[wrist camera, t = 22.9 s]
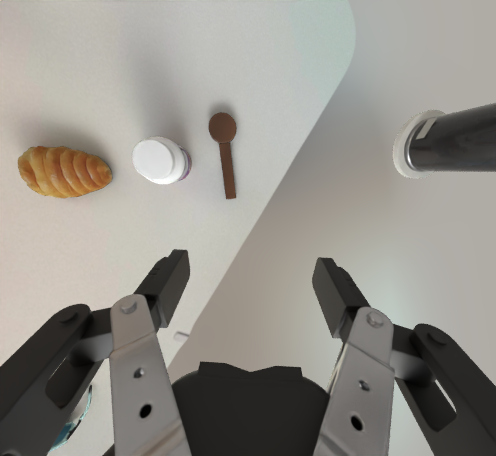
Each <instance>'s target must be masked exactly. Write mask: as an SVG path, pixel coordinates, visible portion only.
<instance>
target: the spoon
mask: <svg viewBox="0 0 496 456" xmlns="http://www.w3.org/2000/svg"><path fill="white" fill-rule="evenodd" d="M209 132H210V135H211V137H212V138H213V139H214V140H215V141H216V142H218V143H220V144H219V147H220V155H221V162H222V170H223V178H224V186H225V194H226V199H233V198H236V194H235V185H234V176H233V167H232V158H231V149H230V143H229V142H230V141H232V139H233V138H234V136H235V134H236V123H235V121H234V119H233V118H232V117H231V116H230V115H229V114H227V113H217V114H215V115H214V116H213V117H212V118H211V120H210V122H209Z"/></svg>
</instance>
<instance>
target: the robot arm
mask: <svg viewBox="0 0 496 456" xmlns="http://www.w3.org/2000/svg"><path fill="white" fill-rule="evenodd" d="M404 158H405V162H406V164H407V165H408V167H409V168H410V169H412V170H414V171H417V172H427V171H474V172H475V171H478V172H483V171H484V172H485V171H487V172H489V171H490V172H494V171H495V172H496V103H493V104H489V105H485V106H480V107H476V108H472V109H468V110H464V111H460V112H456V113H451V114H447V115H443V116H439V117H432V118H428V119H425V120H423V121H421V122H420V123H418V124H417V125H416V126H415V127H414V128H413V129H412V131H411V132H410V134H409V136H408V138H407V140H406V143H405V147H404ZM189 276H190V266H189V258H188V251H187V250H177V249H174V250H173V251H172V252H171V254H170V255H169V257H164V258H162V259H161V260H159V261H158V262H157V263H156V264H155V265H154V267H153V268H152V270H151V271H150V272H149V273H148V275H147V276H146V277H145V279H144V280H143V281H142V283H141V284H140V285H139V287H138V288H137V290H136V291H135V292H134V294H132V295H128V296H126V297H123V298H122V299H120V300H118V301H117V302H116V303H115V304H114V305H113V306H112V307H111V308H106V309H101V310H96V311H91V310H90V308H89V306H87V305H85V304H76V305H72V306H69V307H66V308H64V309H62V310H60V311H59V312H57V313H56V314H54V315H53V316H52V317H51V318H50V319H49V320H48V321H47V322H46V323H45V324H44V325H43V326H42V327H41V328H40V329H39V330H38V331H37V332H36V333H35V334H34V335H33V336H31V337H30V338H29V339H28V340H27V341H26V342H25V343H24V344H23V345H22V346H21V347H20V348H19V349H18V350H17V351H16V352H15V353H14V354H13V355H12V356H11V357H10V358H9V359H8V360H7V361H6V362H5V363H4V364H3V365H2V366H1V367H0V456H47V454H48V452H49V451H50V449H51V447H52V446H53V444H54V442H55V441H56V439H57V437H58V436H59V434H60V432H61V431H62V429H63V427H64V426H65V424H66V422H67V421H68V419H69V417H70V416H71V414H72V412H73V411H74V409H75V407H76V406H77V404H78V402H79V401H80V399H81V397H82V396H83V394H84V392H85V391H86V389H87V387H88V386H89V384H90V382H91V381H92V379H93V377H94V376H95V374H96V372H97V371H98V369H99V367H100V366H101V364H102V362H103V361H104V359H107V358H109V362H110V379H111V395H112V411H113V428H114V444H113V445H112V446H111V447H110V448H109V449H108V450H107V451H106V452H105V453H104V455H103V456H388V450H389V438H390V426H391V415H392V402H393V391H394V379H395V380H396V382H397V384H398V386H399V388H400V390H401V392H402V394H403V396H404V398H405V400H406V401H407V403H408V406H409V407H410V409H411V411H412V413H413V415H414V417H415V419H416V421H417V423H418V425H419V427H420V428H421V431H422V432H423V434H424V436H425V438H426V440H427V442H428V444H429V446H430V448H431V450H432V452H433V453H434V456H496V386H495V385H494V384H493V383H492V382H491V381H490V380H489V378H488V377H486V375H485V374H484V373H483V372H482V371H481V370H480V369H479V367H478V366H477V365H476V364H475V363H474V362H473V361H472V360H471V359H470V358H469V356H468V355H467V354H466V353H465V352H464V351H463V350H462V349H461V347H460V346H459V345H458V344H457V343H456V342H455V341H454V340H453V339H452V338H451V337H450V336H449V335H448V334H446V333H444V332H443V331H442V330H440V329H438V328H436V327H434V326H431V325H428V324H418V325H416V326H415V328H414V329H413V330H411V329H408V328H404V327H401V326H398V325H395V324H393V323H392V322H391V321H390V319H389V318H388V317H387V316H386V315H384V314H383V313H382V312H380V311H379V310H377V309H374V308H371V306H370V305H369V303H368V302H367V300H366V299H365V297H364V296H363V294H362V293H361V291H360V290H359V288H358V287H357V286H356V284H355V283H354V281H353V279H352V278H351V277H350V275H349V274H348V272H346V271H345V270H344V269H343V268H341V267H337V265H336V263H335V262H334V260H333V259H332V258H318V259H317V262H316V266H315V270H314V274H313V278H312V283H313V288H314V290H315V293H316V296H317V298H318V301H319V304H320V306H321V309H322V312H323V314H324V317H325V319H326V322H327V325H328V327H329V330H330V333H331V335H332V338H341V339H342V342H343V344H342V347H341V349H340V352H339V355H338V358H337V361H336V363H335V367H334V369H333V372H332V375H331V378H330V380H329V383H328V385H327V388H326V390H324V389H323V388H322V387H320V386H319V385H318V384H316V383H315V382H313V381H311V380H310V379H307V378H305V377H303V376H302V371H301V367H286V366H274V367H270V368H266V369H262V370H258V371H254V372H248V371H245V370H242V369H240V368H237V367H234V366H232V365H229V364H226V363H214V362H200V366H199V369H198V370H197V371H194V372H191V373H189V374H186V375H185V376H183V377H181V378H180V379H178V380H177V381H175V382H174V383H173V384H172V385H171V383H170V380H169V376H168V373H167V369H166V366H165V362H164V359H163V356H162V352H161V349H160V345H159V342H158V338H157V335H156V334H157V332H158V330H159V328H167V327H168V325H169V323H170V321H171V318H172V316H173V314H174V312H175V309H176V307H177V305H178V303H179V300H180V298H181V296H182V294H183V291H184V289H185V287H186V285H187V282H188V280H189ZM64 359H65V360H64ZM63 360H64V361H63ZM61 363H62V364H61ZM60 364H61V365H60ZM57 368H58V369H57ZM56 369H57V370H56ZM54 372H55V373H54ZM53 373H54V374H53ZM50 377H51V378H50ZM436 379H437V380H438V382H439V383H440V385H441V386H442V388H443V389H444V390H445V392H446V393H447V395H448V396H449V398H450V399H451V401H452V402H453V404H454V406H455V409H456V412H455V411H454V409H453V408H452V406H451V405H450V403H449V402H448V401H447V399H446V397H445V396H444V394H443V393H442V392H441V390H440V389H439V387H438V386H437V384H436V383H435V380H436Z"/></svg>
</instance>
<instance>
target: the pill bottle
mask: <svg viewBox="0 0 496 456" xmlns="http://www.w3.org/2000/svg"><path fill="white" fill-rule="evenodd" d="M132 161H133V164H134V166H135V168H136V170H137V171H138V172H139V173H140V174H141V175H142V176H144V177H146V178H147V179H148V180H150V181H152V182H154V183H157V184H170V183H173V182H176V181H180V180H182V179H184V178H185V177H186V176H187V175H188V174H189V172H190V170H191V159H190V156H189V154H188V153H187V152H186V150H185V149H184V148H182V147H181V146H179V145H178V144H176V143H174V142H173V141H171V140H169V139H167V138H164V137H159V136H154V137H150V138H147V139H145V140H143V141H140V142H139V143H138V144H137V145H136V146H135V147H134V149H133V152H132Z"/></svg>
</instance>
